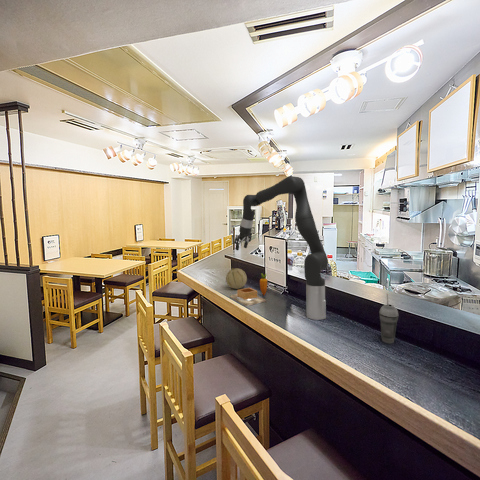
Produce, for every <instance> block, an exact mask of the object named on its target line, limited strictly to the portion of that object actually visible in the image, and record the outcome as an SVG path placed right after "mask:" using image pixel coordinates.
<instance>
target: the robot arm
mask: <svg viewBox="0 0 480 480" xmlns="http://www.w3.org/2000/svg"><path fill="white" fill-rule="evenodd" d="M306 189H307V188H306V184H305V181H304V179H303V178H301V177H300V176H293V175H291V176H286V177H285V178H283V179H282V180H280V181H278V182H277V183H276V184H273V185H272V186H269V187H267V188H265V189H262V190H259V191H258V192H256V194H246V195H245V196H244V197H243V201H242V207H243V209H242V210H243V212H242V217H241V220H240V224H239V228H238V230H239V234H236V235H235V237H234V241H233V243H234V245H235V251H239V249H240V245H241V243H243V242H244V243H243V248H245V249H247V248H248V246H249V245H248V244H249V243H250V242H251V241H252V236H253V233H252V227H253V224H254V219H255V218H254V217H255V211H254V209H252V207H257V206H260V205H262V204H264V203H266V202H269V201H271V200H273V199H275V198H276V197H278V196H280V195H286V194H287V195H292V196H293V197H294V201H295V205H296V206H295V215H294V220H295V224H296V227H297V230H298V232H299V234H300V236H301V238H303V240H304V241H305V242H306V244H307V246H308V247H309V251H310V253H309V254H307V255H306V256H305V258H304V262H303V263H304V265H303V268H304V277H305V281H306V285H305V286H306V289H305V291H306V294H305V295H306V297H305V298H306V300H305V301H306V304H305V305H306V306H305V308H306V311H305V312H306V313H305V314H306V318H308V319H309V320H315V321H317V320H318V321H320V320H324V319H327V317H326V315H327V314H326V312H327V311H326V310H327V306H326V305H327V303H326V302H327V300H326V280H325V278H323V277H322V274H321V271H322V270H323V271H324V270H325V269H327V267H328V266H329V259H328V256H327V254H326V251H325V249H324V246H323V245H322V244H323V243H322V242H321V239H320V235H319V232H318V228H317V225H316V222H315V219H314V216H313V213H312V209H311V205H310V203H309V198H308V194H307V190H306Z"/></svg>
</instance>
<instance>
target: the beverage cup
mask: <svg viewBox="0 0 480 480" xmlns="http://www.w3.org/2000/svg"><path fill="white" fill-rule="evenodd" d="M378 314H379V321H380V335H381V336H380V337H381V341H382V342H383V343H385V344H394V343H395V339H396V331H397V325H398V324H397V323H398V321H399V311H398V309H397V308H396V306H394V305H392V304H389V293H386V304H384V305H382V306H381V307H380V309H379V312H378Z"/></svg>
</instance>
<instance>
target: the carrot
mask: <svg viewBox="0 0 480 480" xmlns="http://www.w3.org/2000/svg"><path fill="white" fill-rule="evenodd" d="M260 275H261V278H260V279H259V288H260V293H261V294H262V295H263V296H265V295H266V294H267V290H268V279H267V278H266V277H267V273H265V274H263V273H260Z"/></svg>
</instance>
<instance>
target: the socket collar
mask: <svg viewBox="0 0 480 480" xmlns="http://www.w3.org/2000/svg"><path fill="white" fill-rule="evenodd" d="M236 294H237V299H239V300H242V301H252V300H256V299H257V298H258V290H256V289H254V288H251V287H245V288H239V289H236Z"/></svg>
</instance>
